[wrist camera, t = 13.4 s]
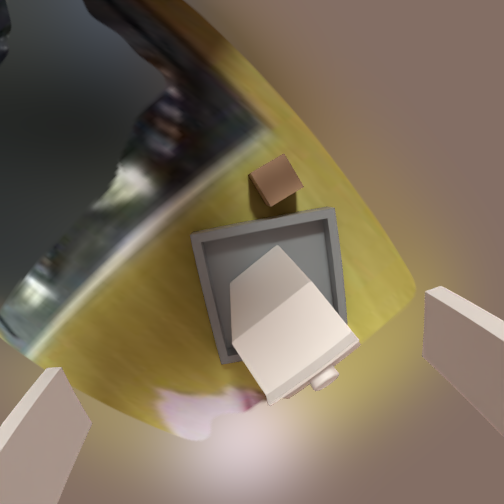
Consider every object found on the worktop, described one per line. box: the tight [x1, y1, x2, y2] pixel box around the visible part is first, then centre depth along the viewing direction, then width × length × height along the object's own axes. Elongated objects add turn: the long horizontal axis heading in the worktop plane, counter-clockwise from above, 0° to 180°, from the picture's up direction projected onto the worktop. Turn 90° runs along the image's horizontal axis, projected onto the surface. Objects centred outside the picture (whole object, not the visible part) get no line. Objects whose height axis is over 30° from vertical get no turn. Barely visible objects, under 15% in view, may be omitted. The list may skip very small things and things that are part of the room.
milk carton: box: [230, 245, 360, 406], centre depth 27 cm, size 7×7×19 cm
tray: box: [190, 207, 348, 364], centre depth 36 cm, size 16×16×2 cm
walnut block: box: [248, 154, 304, 207], centre depth 33 cm, size 4×4×4 cm
